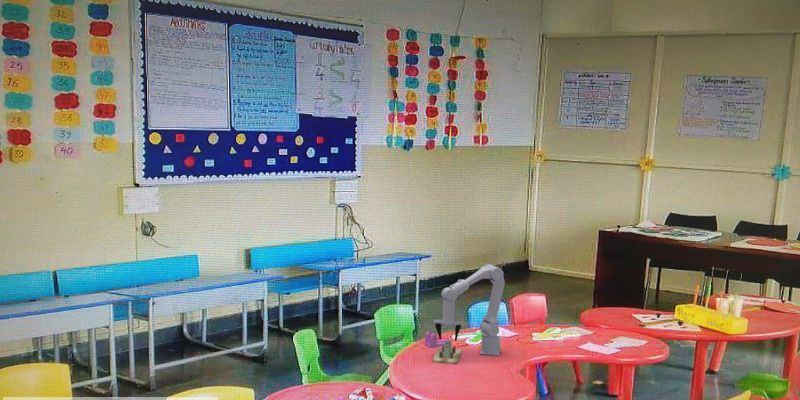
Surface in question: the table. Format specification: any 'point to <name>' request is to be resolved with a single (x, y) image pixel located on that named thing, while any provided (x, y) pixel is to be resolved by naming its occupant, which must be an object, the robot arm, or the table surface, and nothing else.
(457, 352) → the beige board with pegs
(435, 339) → the bracket
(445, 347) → the door
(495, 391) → the table surface
